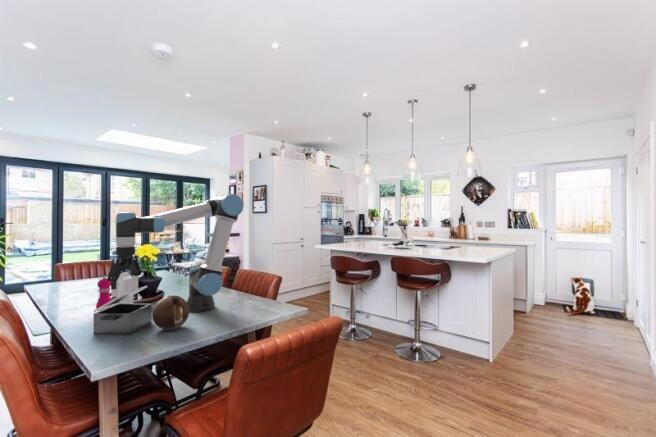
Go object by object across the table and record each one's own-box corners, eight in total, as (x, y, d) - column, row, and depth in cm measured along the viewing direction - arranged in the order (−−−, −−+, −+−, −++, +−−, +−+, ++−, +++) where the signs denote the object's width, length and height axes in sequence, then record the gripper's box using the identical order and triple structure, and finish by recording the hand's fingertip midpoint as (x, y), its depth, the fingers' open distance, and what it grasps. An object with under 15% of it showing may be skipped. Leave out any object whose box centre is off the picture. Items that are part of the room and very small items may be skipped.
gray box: (154, 321, 158) (154, 302, 158) (126, 336, 138) (125, 315, 138) (122, 320, 159) (122, 302, 159) (89, 336, 138) (89, 315, 138)
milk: (114, 316, 166) (113, 273, 166) (124, 313, 172) (123, 271, 171) (123, 317, 164) (123, 273, 164) (133, 313, 170) (133, 271, 170)
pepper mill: (104, 316, 165) (104, 277, 165) (92, 315, 167) (92, 276, 166) (116, 312, 172) (116, 274, 172) (104, 311, 174) (104, 274, 174)
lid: (147, 286, 156) (145, 281, 156) (125, 295, 140) (122, 289, 140) (120, 302, 157) (117, 297, 157) (94, 312, 140) (91, 306, 140)
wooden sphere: (152, 326, 150) (152, 294, 150) (187, 321, 158) (187, 290, 158) (152, 337, 137) (152, 301, 137) (191, 331, 145) (191, 297, 145)
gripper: (135, 243, 161) (134, 286, 161) (97, 248, 136) (96, 299, 136) (149, 244, 160) (149, 287, 161) (114, 248, 136) (114, 299, 136)
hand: (125, 292), depth 148 cm, fingers open, 13 cm apart
